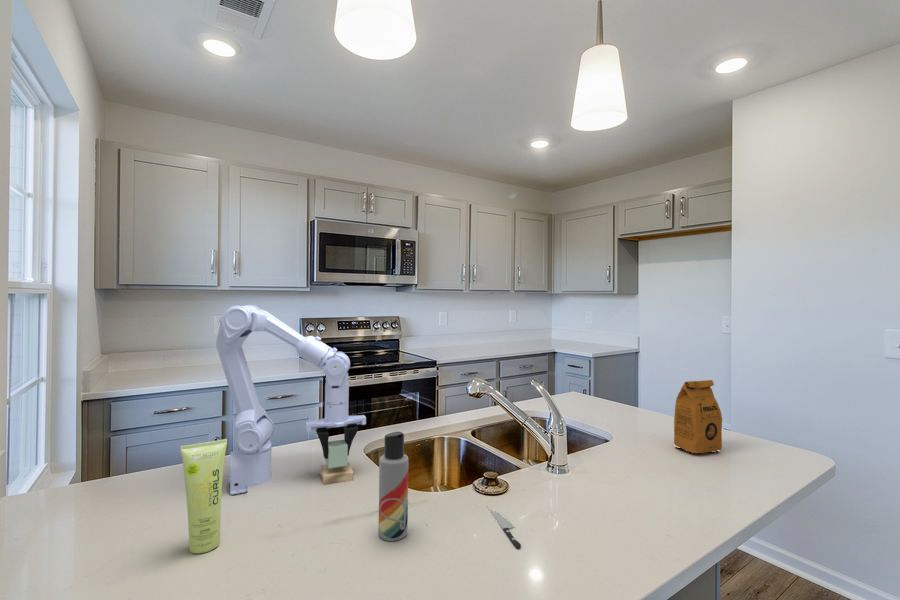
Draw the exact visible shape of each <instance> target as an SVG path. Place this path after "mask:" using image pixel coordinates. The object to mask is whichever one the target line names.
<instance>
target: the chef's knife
mask: <svg viewBox="0 0 900 600" xmlns="http://www.w3.org/2000/svg"><path fill="white" fill-rule="evenodd" d="M490 511H491V512H490ZM490 511H489V512H490V514H491V513H492V514H493V515H492V514H491V515H492V517H493V516H494V517H495V518H494V517H493V518H494V520H495V519H496V520H497V521H496V520H495V521H496V522H498V523H497V524H498V526H499V525H500V526H499V527H500V528H501V530H502V529H503V530H502V531H503V533H504V534H505V533H506V534H505V536H507V538H508V540H509V541H510V542H511V544H512V545H513V547H514V548H515V549H518V550H519V549H521V545H522V544H521V543H520V541H518V539H517V540H516V538H515V537H514V535H513V534H512V533H511V530H514V529H516V527H514V526H515V525H514V524H513V523H512V522H511V521H510V520H509V521H510V522H511V523H512V524H513V525H514V526H513V525H512V524H511V523H510V522H509V521H507V519H508V518H507V519H505V518H504V517H502V515H500V513H498V512H497V513H496V511H494V513H493V511H492V510H491V509H490ZM513 528H514V529H513ZM509 529H510V530H509Z"/></svg>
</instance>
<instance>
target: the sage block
mask: <svg viewBox="0 0 900 600" xmlns="http://www.w3.org/2000/svg"><path fill="white" fill-rule="evenodd" d="M348 456H349V455H348V445H347V443H346V442H345V440H344V439H338V440H330V441H329V440H328V459H324V460H325V463H326V464H325V465H327V466H328V468H334V467H341V466H347V462H349V461H348V459H349V457H348Z"/></svg>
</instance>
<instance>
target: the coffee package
mask: <svg viewBox="0 0 900 600" xmlns="http://www.w3.org/2000/svg"><path fill="white" fill-rule="evenodd" d="M714 385H715V383H714V381H713V380H712V379H709V380H706V379H705V380H691V381H684V383H683V384H682V386H681V388H680V391H679V392H678V394H677V396H676V399H675V406H674V416H673V417H674V419H673V425H674V426H673V427H674V428H673V431H674V432H673V433H674V437H673V438H674V439H673V445H674V444H675V445H676V446H678V447H680V448H682V449H684V450H683V451H685V450H687V451H689V452H692V453H691V454H693V453H701V454H705V453H704V452H712V451H717V450H720V451H722V448H723V440H722V439H723V438H722V437H723V436H722V435H723V434H722V429H723V417H722V411H721V408H720V405H719V403H718V401H717V399H716V397H715V395H714V392H713V389H712V388H711V387H713V386H714ZM687 451H686V452H687ZM689 452H688V453H689Z"/></svg>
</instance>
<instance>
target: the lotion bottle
mask: <svg viewBox="0 0 900 600" xmlns="http://www.w3.org/2000/svg"><path fill="white" fill-rule="evenodd" d="M383 450H384V451H383V453H384V454H382V455H381V456H380V457H379V461H378V462H379V464H378V465H379V467H378V474H379V476H378V536H379V537H380V538H381V540H384V541H387V542H397V541H399V540H400V541H401V540H402V539H404V538H405V537H406V536H407V535H408V534H407V533H408V524H409V523H408V516H409V513H408V512H409V456H408V455H407V454H405V434H404V432H402V431H393V432H390V433H387V434H385V435H384V449H383Z"/></svg>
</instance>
